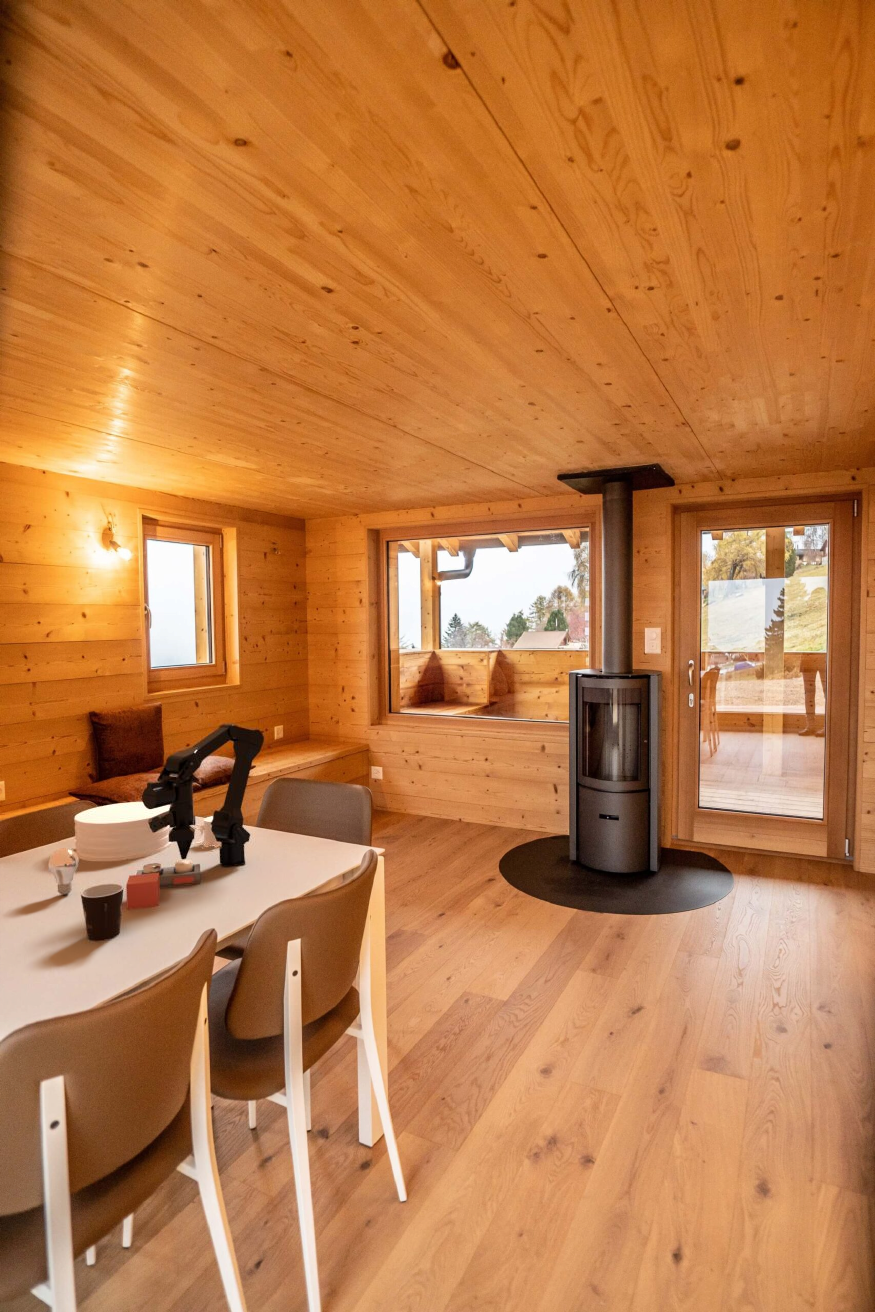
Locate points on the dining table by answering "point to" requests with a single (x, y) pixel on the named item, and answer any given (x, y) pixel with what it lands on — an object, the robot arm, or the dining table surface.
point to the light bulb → (64, 868)
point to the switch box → (177, 877)
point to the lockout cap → (143, 890)
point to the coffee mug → (102, 911)
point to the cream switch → (183, 866)
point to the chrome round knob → (152, 868)
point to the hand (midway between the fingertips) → (183, 859)
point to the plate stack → (119, 832)
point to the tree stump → (207, 833)
